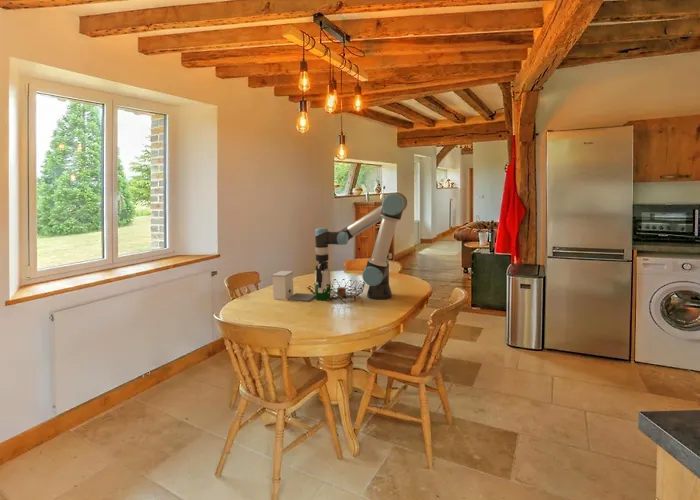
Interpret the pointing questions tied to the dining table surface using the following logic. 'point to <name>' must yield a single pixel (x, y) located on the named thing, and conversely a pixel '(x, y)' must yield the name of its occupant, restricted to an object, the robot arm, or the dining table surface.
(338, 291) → the walnut block
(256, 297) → the dining table surface
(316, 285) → the soya milk
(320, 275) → the robot arm
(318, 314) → the dining table surface
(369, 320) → the dining table surface
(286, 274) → the dispenser unit
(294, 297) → the pad
